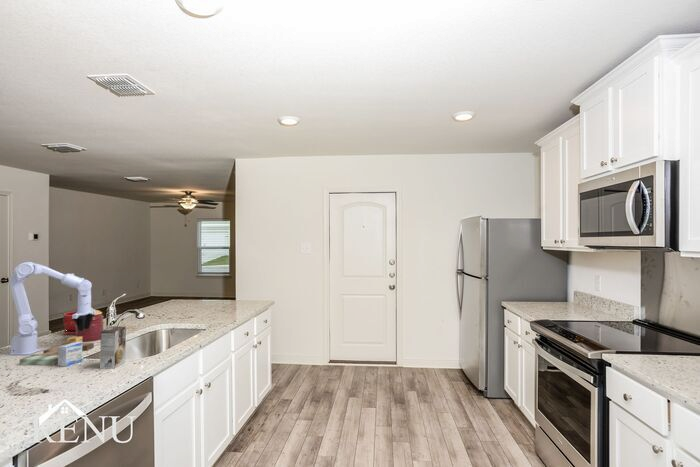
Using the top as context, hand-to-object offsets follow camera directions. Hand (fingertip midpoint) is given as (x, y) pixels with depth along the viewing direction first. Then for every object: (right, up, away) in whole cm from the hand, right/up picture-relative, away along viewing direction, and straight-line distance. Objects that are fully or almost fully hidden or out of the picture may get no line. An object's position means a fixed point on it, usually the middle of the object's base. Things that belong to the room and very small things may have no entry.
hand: (83, 329), depth 192 cm
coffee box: (+34, -8, -29) cm, 45 cm away
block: (0, -6, -7) cm, 9 cm away
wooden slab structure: (0, -8, -17) cm, 19 cm away
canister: (-6, -9, +13) cm, 17 cm away
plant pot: (-23, -9, +26) cm, 36 cm away
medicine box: (+14, -8, -27) cm, 32 cm away
